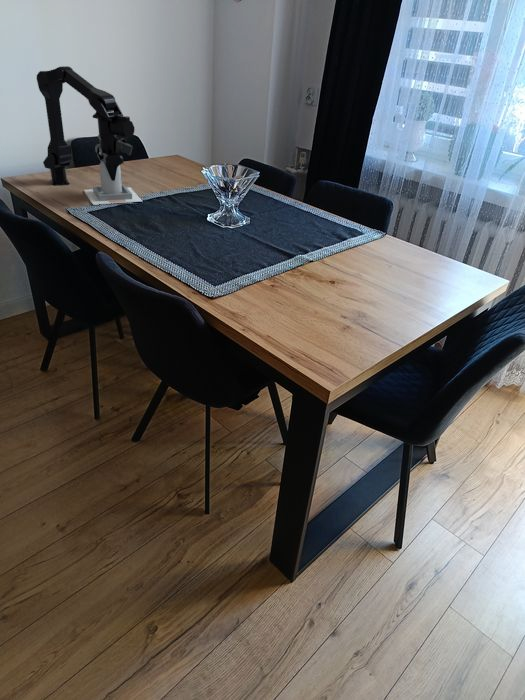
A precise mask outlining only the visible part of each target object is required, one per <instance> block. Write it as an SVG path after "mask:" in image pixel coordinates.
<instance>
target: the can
mask: <svg viewBox="0 0 525 700" xmlns="http://www.w3.org/2000/svg"><path fill="white" fill-rule="evenodd" d="M98 167H99V176H100V186H101V189H102V192H103V193H104V194H106V195H107V194H120V193H121V192H122V185H123V183H122V174H121V173H122V172H121V165H119V166H118V167H117V172H116V177H115V181H112V180H111V178H110V175H109V173H108V171H107V169H106V166H105V164H104V159H103V160H101V161H100V163H99V165H98Z"/></svg>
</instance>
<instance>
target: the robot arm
mask: <svg viewBox="0 0 525 700" xmlns="http://www.w3.org/2000/svg"><path fill="white" fill-rule="evenodd" d="M36 82H37V86H38V90H39V92H40V93H41V94H42V96H43V98H44V102H45V108H46V117H47V122H48V123H47V124H48V130H49V131H48V132H49V137H50V140H49V143H48V145H47V156H46V157H45V159H44V160H43V162H42V163H43V166H44V168H46V169H49V171H50V178H51V179H49V181H50V183H51V185H52V186H62V185H63V186H64V185H70V182H69V180H68V177H67V169H66V167H70V166H71V162H72V157H73V152H72V146H71V144H69V145H68V143H67V142H66V140H65V134H64V127H63V125H64V124H63V118H62V110H61V109H62V108H61V101H60V98H61V95H62V93H63V90H64V88H63V86H64V85H63V84H65V83H66V84H68V85H69V86H70V87H71V88H73V89H74V90H75V91H76V92H77V93H79V94H81V96H83V97H84V98H85V99H86V100H87V101H88V104H89V105H90V107H92V108H93V110H94V111H95V113H94V114H93V115H92V118H93V119H97V128H98V135H97V138H98V139H99V143H97V144H95V147H94V149H95V153H96V155H97V158H98V159H99V161H100V162H101V160H103V159H104V164H105V166H106V169H107V171H108V173H109V175H110V178H111V180H112V181H115V177H116V172H117V167H118V166H119V165H120V166H121V165H123V164H124V157H123V156H122V155H121V154H120V152H121V153H124V154H126V155H128V156H131V154H132V150H133V148H134V147H133V145H131V144H130V143H128V142H127V139H131V138H132V137H133V136H134V135H135V126H134V123H133V121H131V119H130V118H131V117H130V116H127V115H126V116H125V115H124V114H123V112H122V110H121V107H119V105H118V102H117V101H116V97H115V96H114V95H113V94H112V93H109V92H108V91H105V90H103V89H99V88H97V87H95V85H93V84H91V83H90V82H89V81H88V80H86V79H85V78H83V76H81V75H80V74H79V73H77V72H76V71H75V70H74V69H73V68H72V67H71V66H68V65H67V66H64V65H63V66H57V67H56V68H54V69H50V70H40V71H39V72H38V73H37V74H36ZM118 137H120V139H119V138H118ZM125 138H127V139H125Z"/></svg>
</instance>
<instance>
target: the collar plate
mask: <svg viewBox="0 0 525 700" xmlns="http://www.w3.org/2000/svg"><path fill="white" fill-rule="evenodd" d="M83 192H84V193H85V195H86V197H87V198H88V200H89V201H90V203H91V204H93V205H99V204H111V203H127V202H142V203H143V200H142V199H141V198H140V197H139V196H138V194H137V193H136V192H135V191H134V190H133V188H132V187H130V186H129V187H127V186H126V185H125V184H122V192H121V193H120V194H107V195H106V194H104V193H103V192H102V189H101V185H95V186H92V188H91V189H90V188H89V189H83ZM93 205H92V206H93Z"/></svg>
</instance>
